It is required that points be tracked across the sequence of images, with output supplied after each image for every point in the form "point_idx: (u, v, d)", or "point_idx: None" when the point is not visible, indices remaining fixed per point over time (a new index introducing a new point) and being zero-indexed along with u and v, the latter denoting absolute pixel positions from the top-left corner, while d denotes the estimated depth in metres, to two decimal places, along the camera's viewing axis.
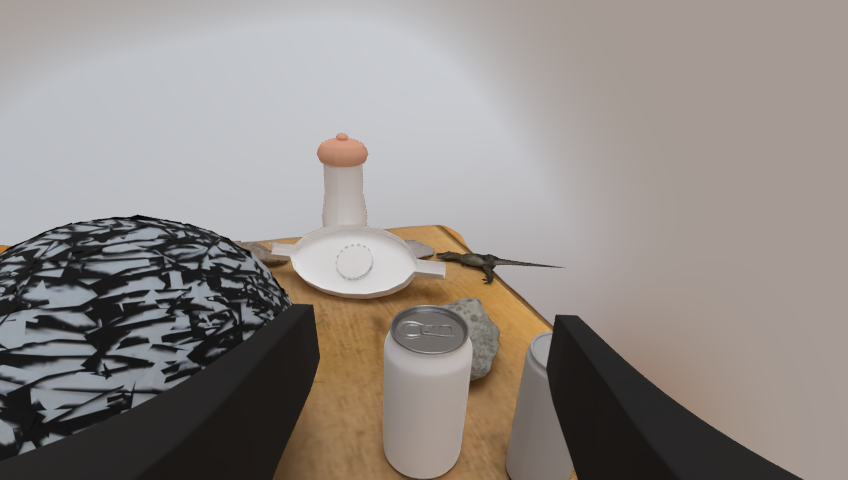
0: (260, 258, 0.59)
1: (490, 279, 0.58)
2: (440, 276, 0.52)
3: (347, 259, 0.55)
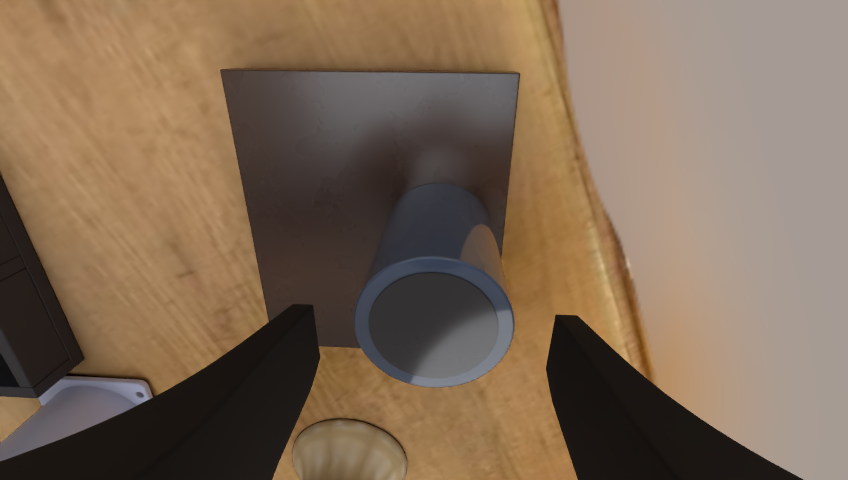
0: None
1: None
2: None
3: None
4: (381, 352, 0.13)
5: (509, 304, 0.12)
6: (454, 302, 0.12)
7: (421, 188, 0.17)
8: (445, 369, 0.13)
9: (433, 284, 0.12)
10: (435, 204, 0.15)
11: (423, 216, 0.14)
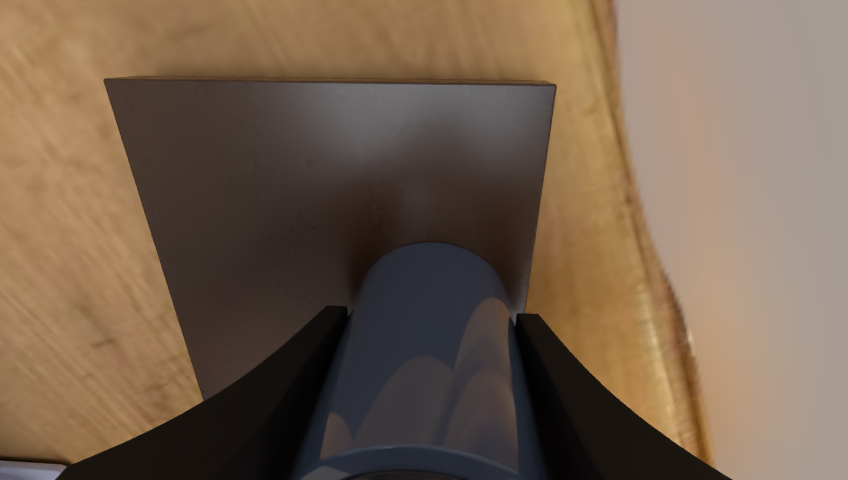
0: None
1: None
2: None
3: None
4: None
5: None
6: None
7: (406, 251, 0.12)
8: None
9: None
10: (424, 289, 0.10)
11: (404, 319, 0.09)
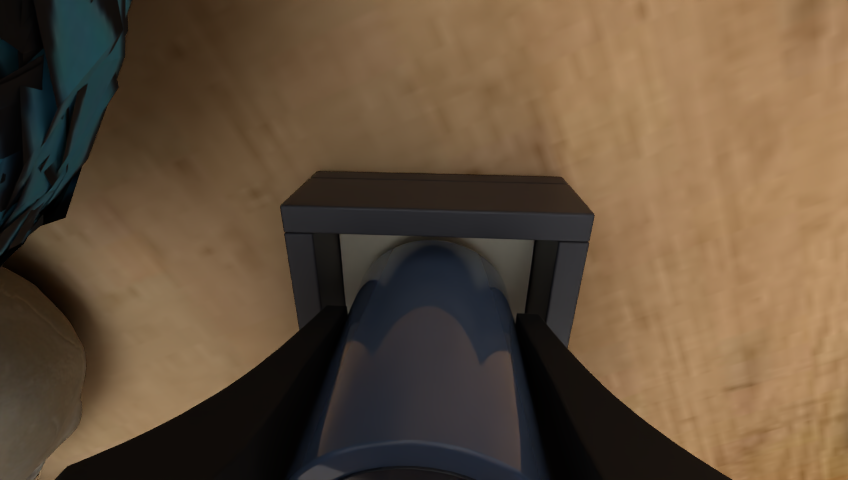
0: None
1: None
2: None
3: None
4: None
5: None
6: None
7: (406, 249, 0.12)
8: None
9: None
10: (424, 287, 0.10)
11: (404, 316, 0.09)
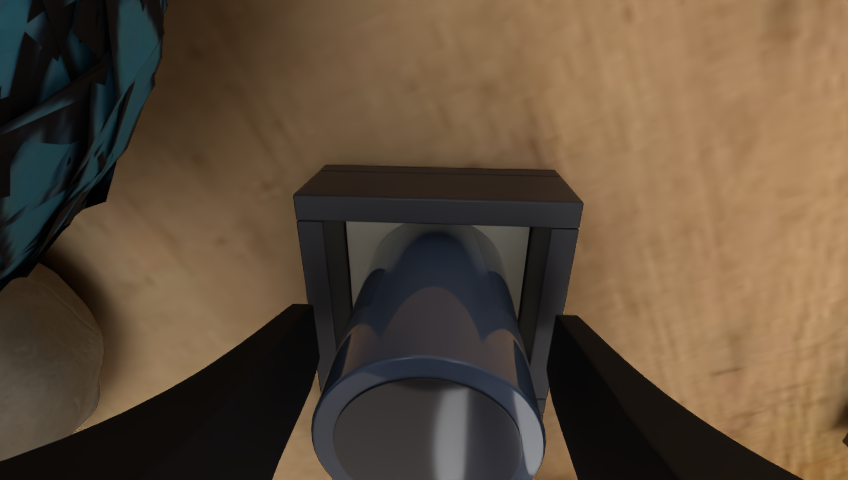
0: None
1: None
2: None
3: None
4: (353, 476, 0.09)
5: (539, 420, 0.08)
6: (458, 417, 0.08)
7: (414, 224, 0.13)
8: None
9: (427, 392, 0.08)
10: (431, 252, 0.11)
11: (414, 273, 0.10)
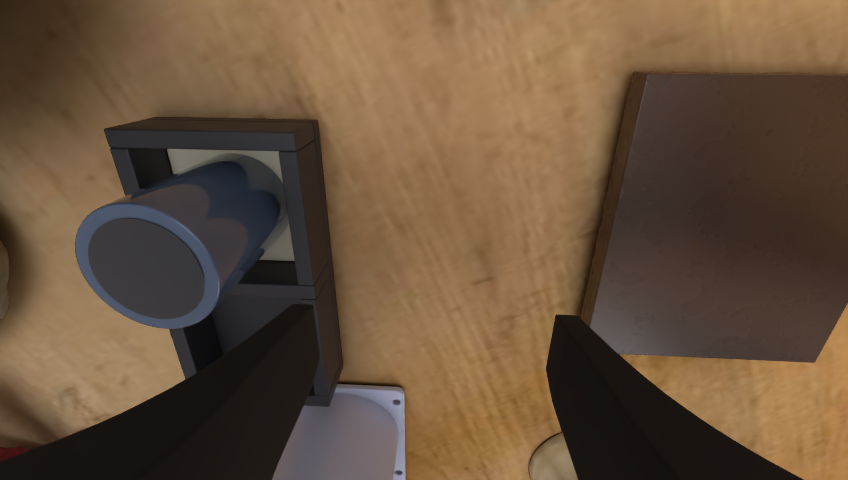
0: None
1: None
2: None
3: None
4: (111, 294, 0.14)
5: (204, 248, 0.13)
6: (157, 246, 0.13)
7: (211, 157, 0.19)
8: (171, 310, 0.15)
9: (134, 229, 0.13)
10: (197, 167, 0.17)
11: (172, 176, 0.16)
